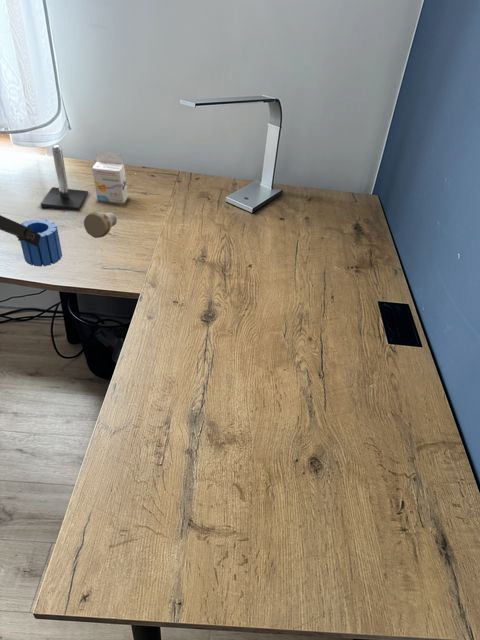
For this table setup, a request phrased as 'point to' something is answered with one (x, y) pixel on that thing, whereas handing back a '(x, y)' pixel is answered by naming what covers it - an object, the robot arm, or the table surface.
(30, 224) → the blue ribbed pencil cup
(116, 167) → the ink box
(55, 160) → the stand
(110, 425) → the table surface
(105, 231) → the mug
